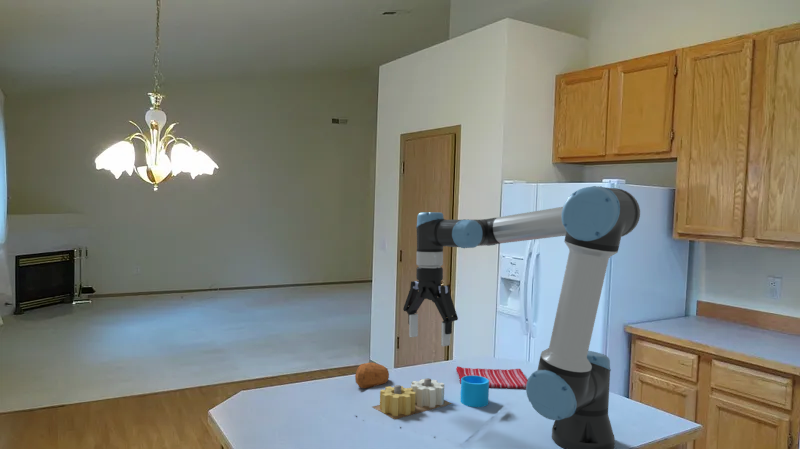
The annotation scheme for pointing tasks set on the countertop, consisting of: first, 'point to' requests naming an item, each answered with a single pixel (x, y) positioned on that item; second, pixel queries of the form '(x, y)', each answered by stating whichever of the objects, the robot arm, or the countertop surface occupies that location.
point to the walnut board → (417, 409)
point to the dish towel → (497, 377)
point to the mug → (474, 391)
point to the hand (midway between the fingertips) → (429, 341)
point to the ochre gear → (397, 401)
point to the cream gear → (428, 393)
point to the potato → (371, 375)
